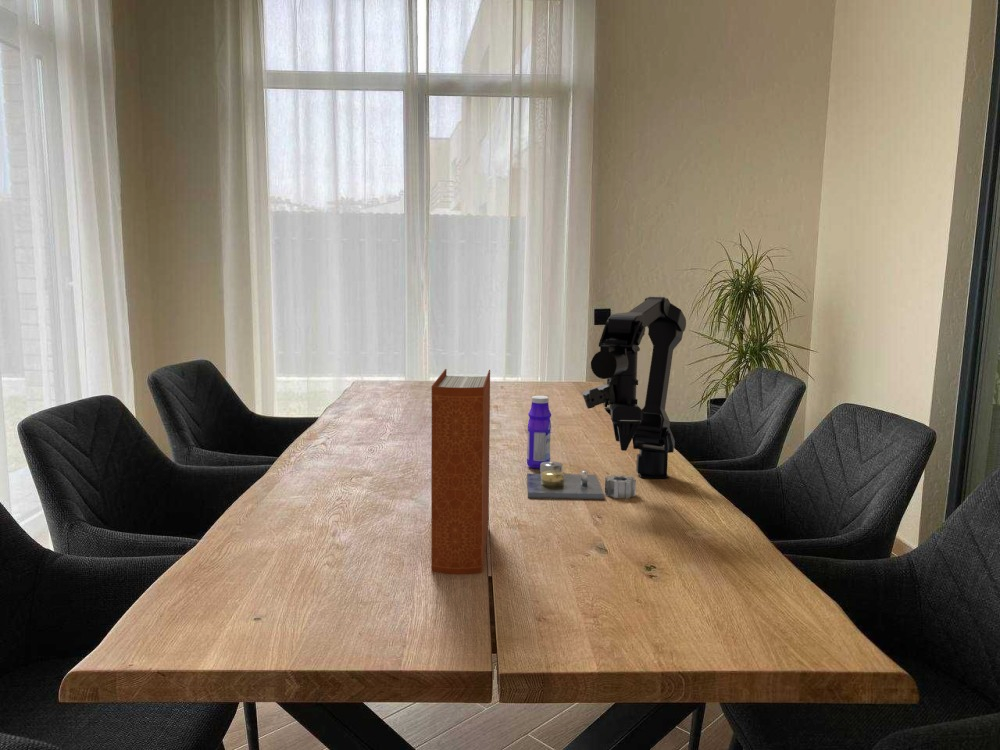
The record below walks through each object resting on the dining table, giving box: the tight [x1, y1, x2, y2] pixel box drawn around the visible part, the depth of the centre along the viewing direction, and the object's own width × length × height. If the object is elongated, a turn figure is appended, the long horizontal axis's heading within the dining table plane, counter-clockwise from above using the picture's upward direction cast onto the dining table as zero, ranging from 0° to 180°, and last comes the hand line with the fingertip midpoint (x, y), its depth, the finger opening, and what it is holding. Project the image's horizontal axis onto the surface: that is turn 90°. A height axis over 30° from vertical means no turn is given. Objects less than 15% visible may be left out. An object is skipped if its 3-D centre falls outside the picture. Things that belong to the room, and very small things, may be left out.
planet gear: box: [604, 474, 637, 500], centre depth 173 cm, size 6×6×4 cm
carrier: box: [526, 461, 605, 500], centre depth 177 cm, size 16×16×5 cm
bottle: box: [526, 395, 552, 470], centre depth 196 cm, size 7×6×17 cm
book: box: [430, 368, 491, 576], centre depth 136 cm, size 23×8×30 cm, turn 178°
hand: (620, 445), depth 172 cm, fingers open, 9 cm apart
